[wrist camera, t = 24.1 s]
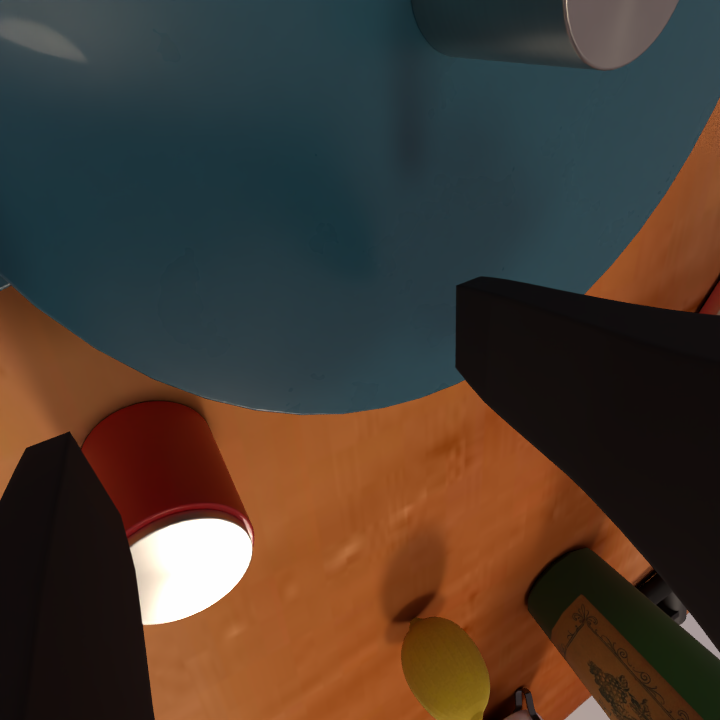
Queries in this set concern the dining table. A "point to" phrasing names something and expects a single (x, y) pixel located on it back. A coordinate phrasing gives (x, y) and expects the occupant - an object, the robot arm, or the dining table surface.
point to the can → (172, 506)
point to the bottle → (624, 643)
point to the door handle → (664, 598)
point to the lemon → (445, 670)
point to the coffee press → (524, 717)
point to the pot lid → (329, 174)
